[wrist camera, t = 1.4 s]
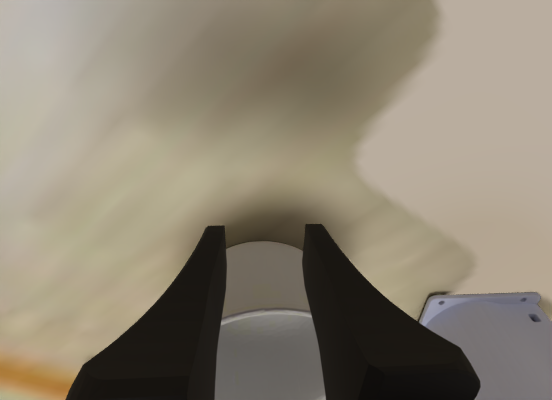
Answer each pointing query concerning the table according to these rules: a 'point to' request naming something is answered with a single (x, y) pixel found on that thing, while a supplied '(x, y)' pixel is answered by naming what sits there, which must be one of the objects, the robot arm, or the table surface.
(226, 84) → the table surface
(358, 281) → the robot arm
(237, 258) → the teacup
